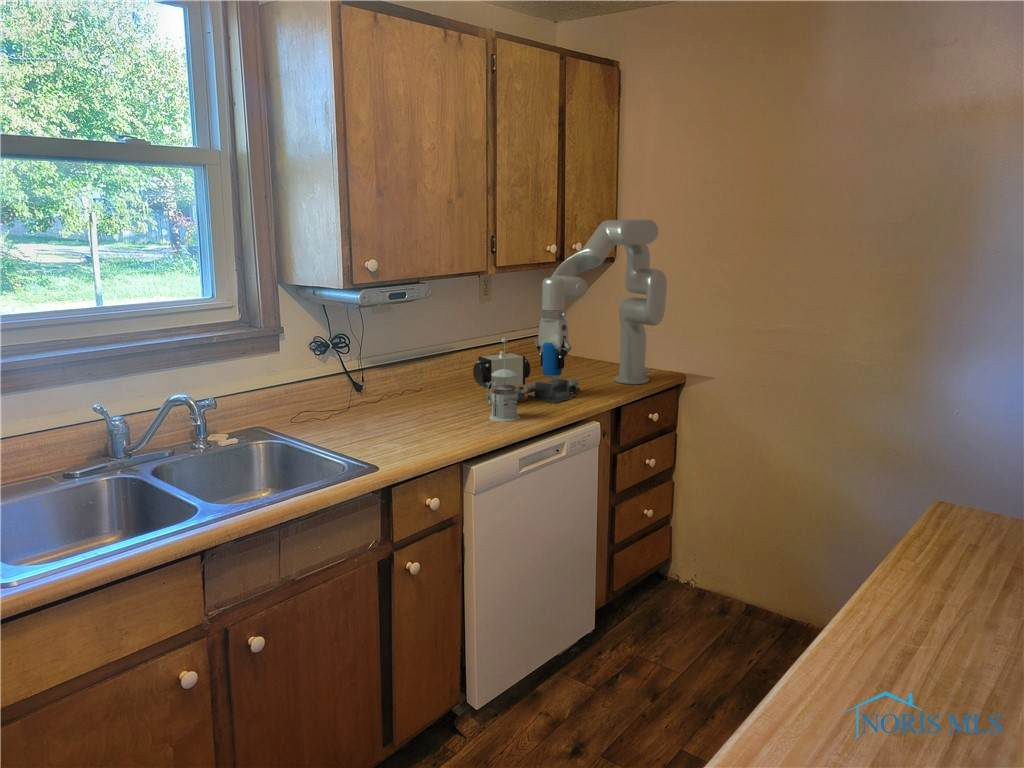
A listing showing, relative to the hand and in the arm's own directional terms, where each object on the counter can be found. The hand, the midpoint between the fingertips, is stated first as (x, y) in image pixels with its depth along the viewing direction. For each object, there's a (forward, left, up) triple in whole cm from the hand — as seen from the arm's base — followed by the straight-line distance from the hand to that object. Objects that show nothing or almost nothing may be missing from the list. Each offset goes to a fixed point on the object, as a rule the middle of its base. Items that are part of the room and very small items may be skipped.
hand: (552, 366), depth 259 cm
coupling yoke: (-1, -1, -11) cm, 11 cm away
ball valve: (+18, -7, -11) cm, 22 cm away
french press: (+31, +6, -11) cm, 33 cm away
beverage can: (0, 0, -3) cm, 3 cm away
